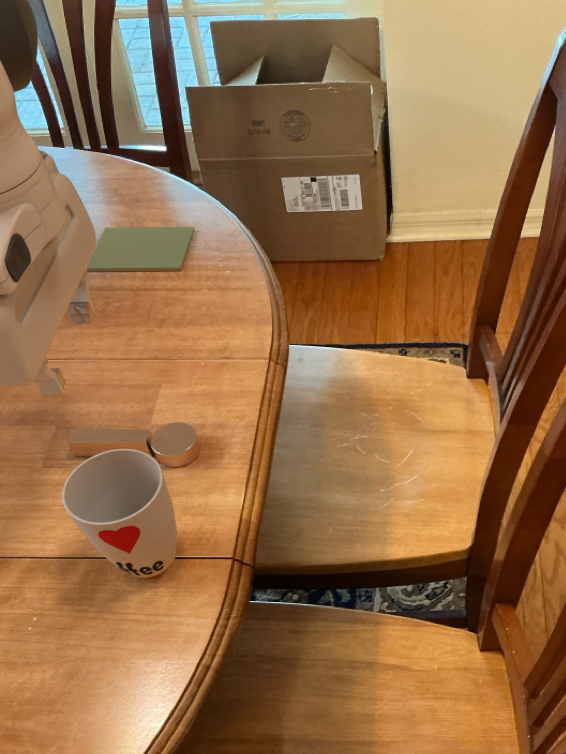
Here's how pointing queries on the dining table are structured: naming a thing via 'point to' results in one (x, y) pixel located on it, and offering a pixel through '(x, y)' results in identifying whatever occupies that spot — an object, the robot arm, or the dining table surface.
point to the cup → (124, 510)
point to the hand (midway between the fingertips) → (71, 353)
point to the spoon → (140, 442)
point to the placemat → (141, 249)
